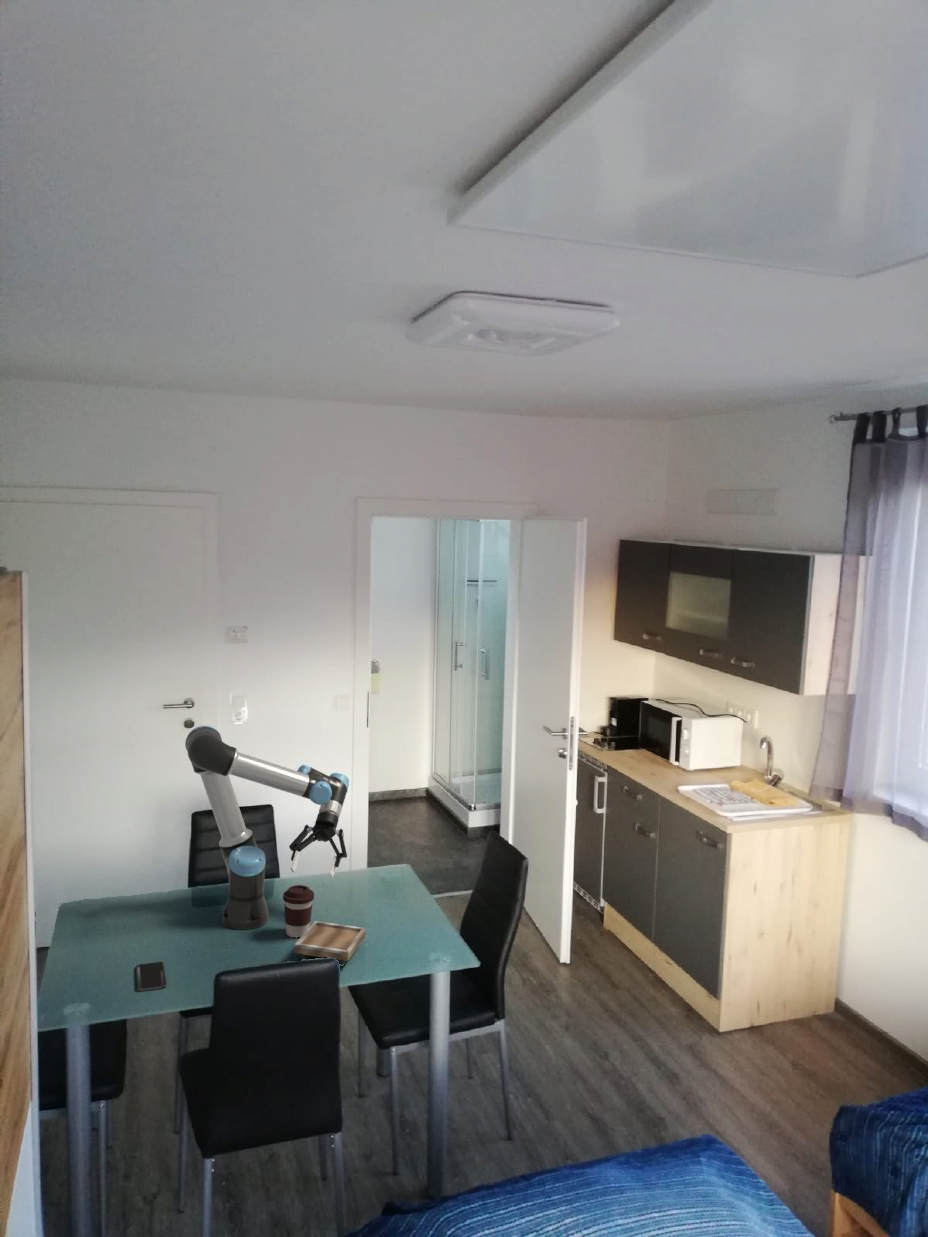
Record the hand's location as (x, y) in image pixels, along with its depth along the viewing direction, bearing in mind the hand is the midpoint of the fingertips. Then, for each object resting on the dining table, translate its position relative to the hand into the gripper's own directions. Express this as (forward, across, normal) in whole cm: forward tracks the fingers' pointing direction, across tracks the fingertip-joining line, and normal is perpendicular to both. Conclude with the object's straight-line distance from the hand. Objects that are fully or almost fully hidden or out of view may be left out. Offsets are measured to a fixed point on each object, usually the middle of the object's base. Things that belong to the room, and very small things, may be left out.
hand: (311, 873), depth 299 cm
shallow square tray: (+26, -15, +3) cm, 30 cm away
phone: (+47, +29, +23) cm, 60 cm away
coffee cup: (+19, 0, -4) cm, 20 cm away
